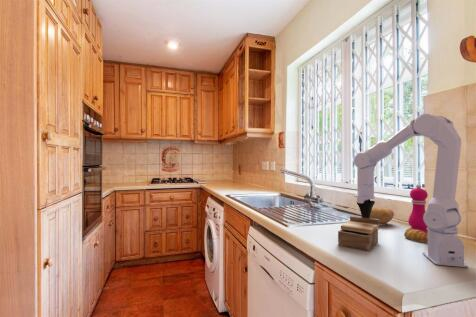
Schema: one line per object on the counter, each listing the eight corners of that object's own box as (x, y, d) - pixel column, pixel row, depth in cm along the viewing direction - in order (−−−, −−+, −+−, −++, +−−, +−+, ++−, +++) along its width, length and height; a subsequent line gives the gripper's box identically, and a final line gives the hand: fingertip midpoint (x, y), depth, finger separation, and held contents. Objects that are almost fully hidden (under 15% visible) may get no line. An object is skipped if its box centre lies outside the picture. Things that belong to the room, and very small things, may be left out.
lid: (370, 233, 88) (370, 225, 88) (340, 228, 95) (340, 221, 95) (379, 226, 97) (379, 219, 97) (351, 222, 104) (351, 215, 104)
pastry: (439, 243, 96) (439, 232, 95) (427, 245, 93) (427, 235, 93) (413, 236, 104) (413, 226, 104) (401, 238, 102) (401, 228, 102)
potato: (400, 226, 119) (400, 208, 119) (374, 228, 116) (374, 209, 116) (384, 221, 129) (384, 204, 129) (359, 222, 125) (359, 206, 126)
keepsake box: (368, 251, 86) (368, 236, 86) (338, 245, 93) (338, 231, 93) (378, 242, 95) (377, 229, 95) (349, 237, 102) (349, 224, 102)
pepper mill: (420, 236, 103) (419, 185, 103) (404, 231, 110) (403, 183, 110) (434, 235, 105) (434, 184, 105) (417, 230, 112) (417, 183, 112)
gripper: (360, 182, 109) (360, 215, 109) (348, 185, 99) (348, 221, 98) (379, 183, 105) (379, 217, 105) (368, 186, 94) (369, 224, 94)
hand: (365, 219), depth 101 cm, fingers closed
